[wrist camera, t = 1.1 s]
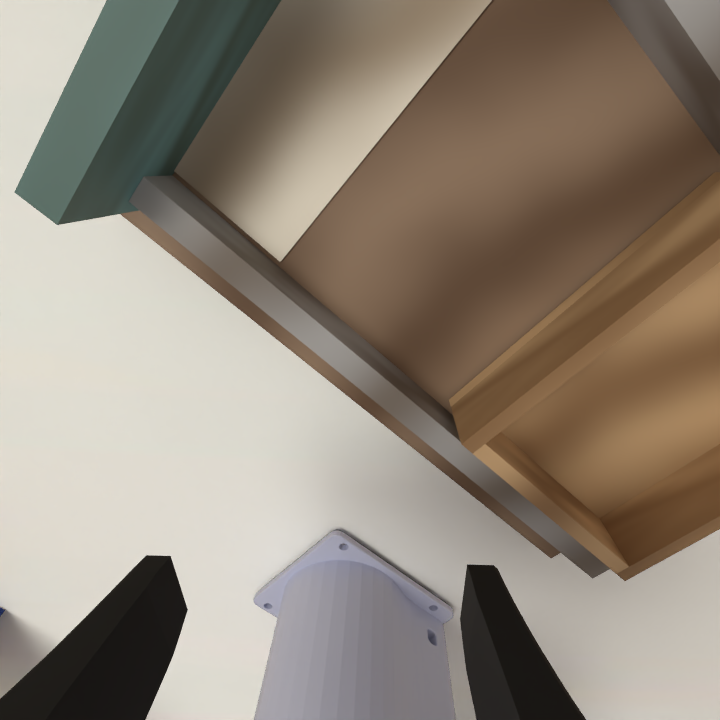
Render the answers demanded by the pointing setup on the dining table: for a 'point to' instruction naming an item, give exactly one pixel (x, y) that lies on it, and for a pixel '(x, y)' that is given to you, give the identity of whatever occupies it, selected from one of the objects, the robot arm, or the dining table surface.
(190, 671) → the dining table surface
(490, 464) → the box
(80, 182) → the bay
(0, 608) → the beverage box
